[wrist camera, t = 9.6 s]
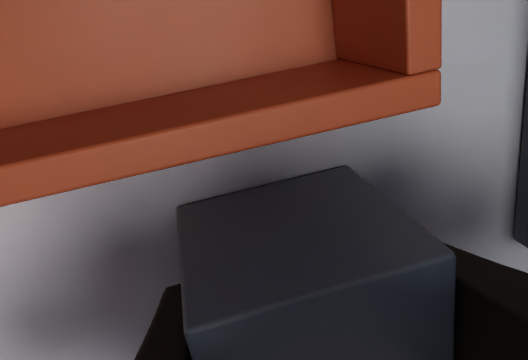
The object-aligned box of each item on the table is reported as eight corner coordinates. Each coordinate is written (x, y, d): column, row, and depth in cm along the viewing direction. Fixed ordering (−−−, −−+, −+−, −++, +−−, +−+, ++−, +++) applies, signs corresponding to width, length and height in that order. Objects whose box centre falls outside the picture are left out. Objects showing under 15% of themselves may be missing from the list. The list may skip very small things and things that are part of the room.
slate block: (360, 300, 13) (454, 437, 8) (214, 344, 12) (239, 514, 8) (347, 163, 11) (459, 253, 7) (175, 205, 10) (182, 332, 6)
